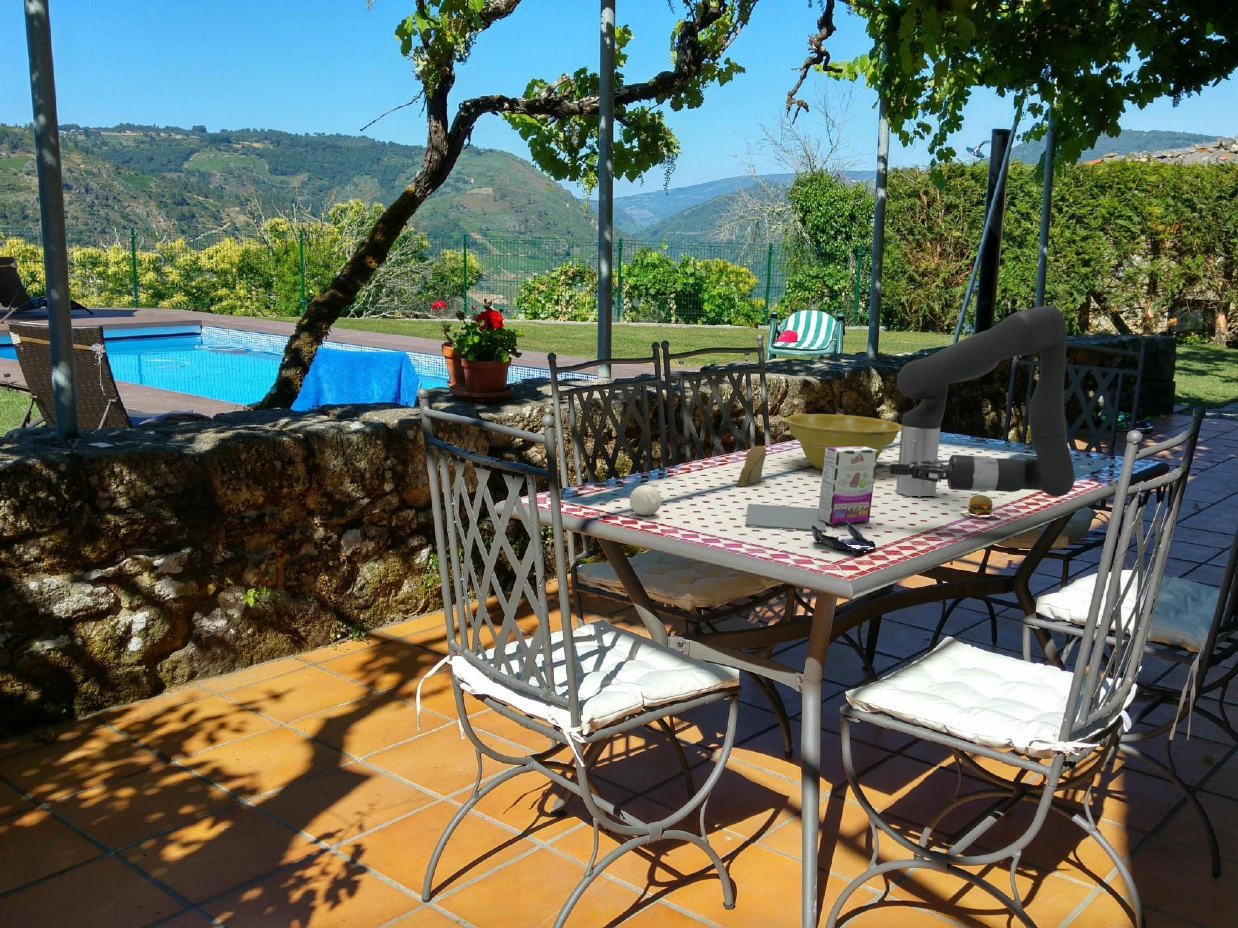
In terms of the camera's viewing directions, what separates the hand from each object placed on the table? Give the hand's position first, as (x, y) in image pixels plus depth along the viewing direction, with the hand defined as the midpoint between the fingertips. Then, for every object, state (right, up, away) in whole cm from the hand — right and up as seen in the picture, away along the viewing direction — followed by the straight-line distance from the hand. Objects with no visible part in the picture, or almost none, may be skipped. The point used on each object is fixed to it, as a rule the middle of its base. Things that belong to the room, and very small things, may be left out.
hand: (889, 468), depth 224 cm
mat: (-22, -11, +6) cm, 25 cm away
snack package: (-14, -16, -17) cm, 27 cm away
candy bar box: (-9, -12, +4) cm, 16 cm away
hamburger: (+25, -12, +15) cm, 31 cm away
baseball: (-53, -10, +4) cm, 54 cm away
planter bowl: (+3, 0, +66) cm, 66 cm away
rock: (-26, -4, +42) cm, 50 cm away
